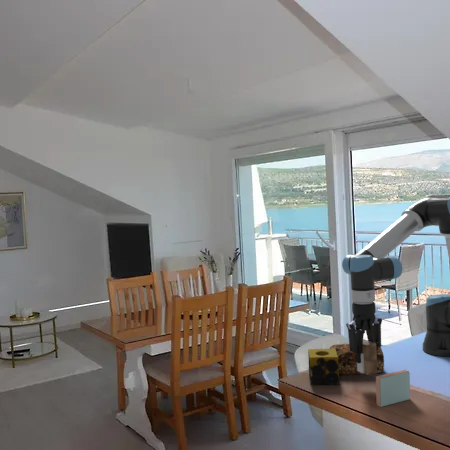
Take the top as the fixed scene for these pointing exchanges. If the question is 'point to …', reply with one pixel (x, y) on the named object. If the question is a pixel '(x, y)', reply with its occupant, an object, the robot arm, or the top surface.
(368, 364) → the light brown rectangular block
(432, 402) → the top surface
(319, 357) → the yellow spotted cube
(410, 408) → the top surface
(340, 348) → the bread
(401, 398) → the tile
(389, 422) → the top surface
